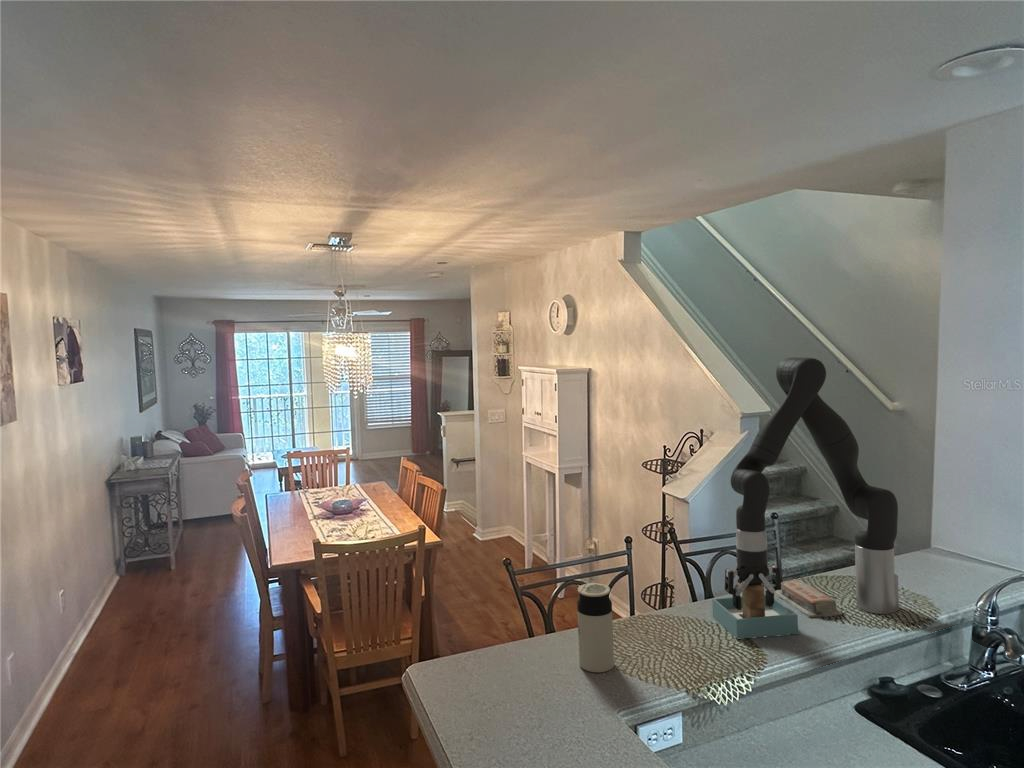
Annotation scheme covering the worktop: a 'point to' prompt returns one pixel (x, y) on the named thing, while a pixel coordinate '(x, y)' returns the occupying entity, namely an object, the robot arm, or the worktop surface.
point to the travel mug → (595, 628)
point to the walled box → (755, 619)
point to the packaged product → (807, 599)
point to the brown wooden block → (753, 601)
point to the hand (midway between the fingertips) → (753, 607)
